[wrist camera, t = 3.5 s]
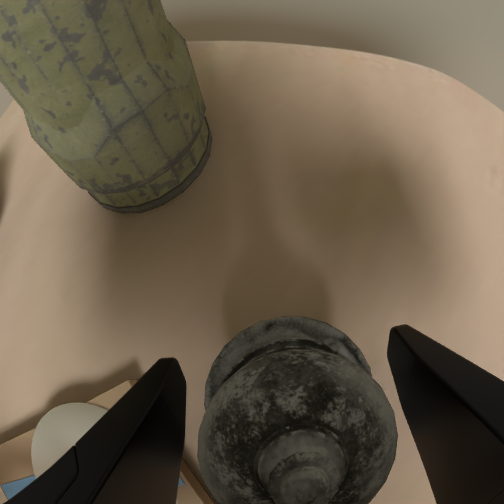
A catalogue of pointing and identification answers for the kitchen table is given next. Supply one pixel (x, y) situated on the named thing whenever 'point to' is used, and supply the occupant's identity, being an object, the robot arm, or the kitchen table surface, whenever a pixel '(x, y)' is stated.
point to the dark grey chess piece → (294, 418)
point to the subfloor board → (63, 438)
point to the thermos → (107, 96)
